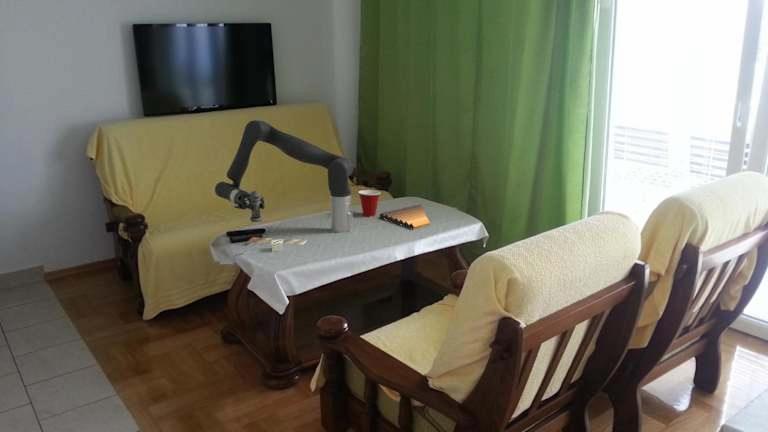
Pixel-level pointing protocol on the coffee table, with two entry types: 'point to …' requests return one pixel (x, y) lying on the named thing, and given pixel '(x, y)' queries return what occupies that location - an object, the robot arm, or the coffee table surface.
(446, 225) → the coffee table surface
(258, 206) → the pawn
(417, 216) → the pan flute
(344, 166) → the robot arm
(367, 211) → the plastic cup
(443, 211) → the coffee table surface
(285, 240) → the board
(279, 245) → the die
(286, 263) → the coffee table surface
